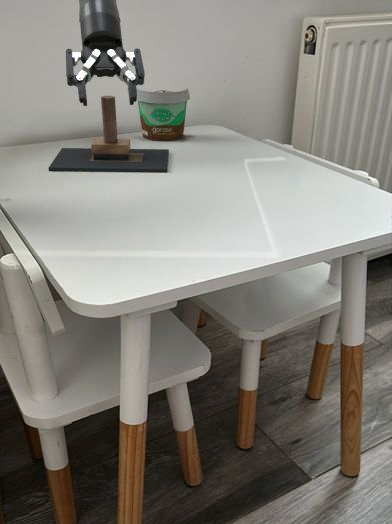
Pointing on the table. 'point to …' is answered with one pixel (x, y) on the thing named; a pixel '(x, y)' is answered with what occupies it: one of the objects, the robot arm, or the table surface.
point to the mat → (111, 161)
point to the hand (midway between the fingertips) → (108, 102)
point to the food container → (162, 114)
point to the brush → (110, 135)
